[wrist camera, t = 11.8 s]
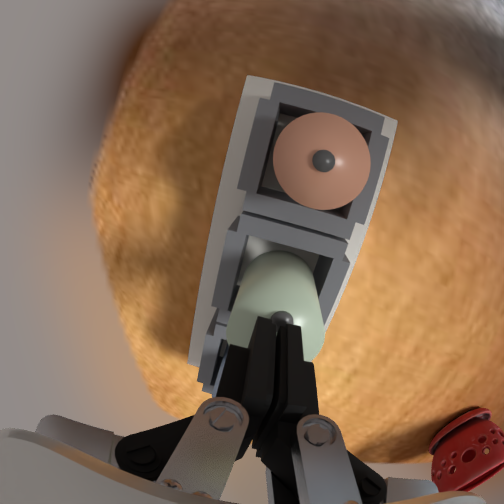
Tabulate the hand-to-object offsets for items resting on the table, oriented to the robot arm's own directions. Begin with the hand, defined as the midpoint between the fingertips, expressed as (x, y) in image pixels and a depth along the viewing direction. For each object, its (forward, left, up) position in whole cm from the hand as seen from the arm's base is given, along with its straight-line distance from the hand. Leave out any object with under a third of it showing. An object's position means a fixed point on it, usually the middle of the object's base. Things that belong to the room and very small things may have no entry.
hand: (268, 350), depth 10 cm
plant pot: (+20, +36, -11) cm, 43 cm away
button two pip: (0, 0, -6) cm, 6 cm away
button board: (0, 0, -10) cm, 10 cm away
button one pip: (-7, 0, -8) cm, 11 cm away
